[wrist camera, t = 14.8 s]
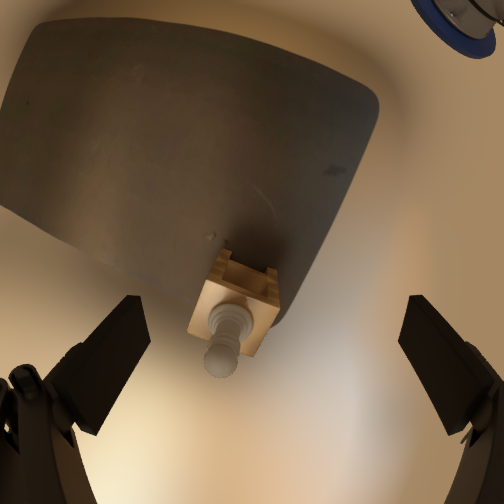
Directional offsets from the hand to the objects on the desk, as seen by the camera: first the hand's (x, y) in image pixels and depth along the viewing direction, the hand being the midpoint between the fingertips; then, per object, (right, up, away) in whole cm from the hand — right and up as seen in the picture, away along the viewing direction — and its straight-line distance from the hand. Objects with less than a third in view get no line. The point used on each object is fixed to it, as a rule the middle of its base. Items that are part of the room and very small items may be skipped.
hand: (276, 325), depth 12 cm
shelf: (-3, -1, +31) cm, 31 cm away
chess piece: (-4, -5, +20) cm, 21 cm away
